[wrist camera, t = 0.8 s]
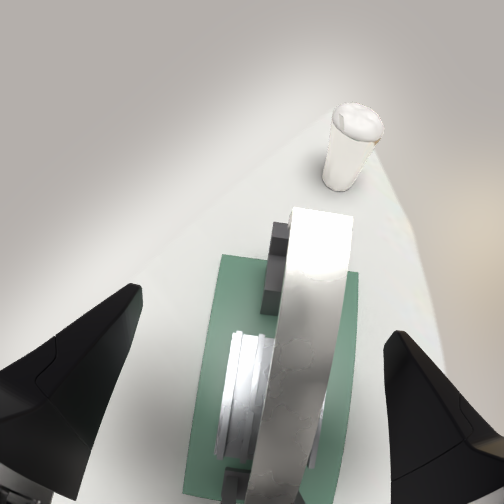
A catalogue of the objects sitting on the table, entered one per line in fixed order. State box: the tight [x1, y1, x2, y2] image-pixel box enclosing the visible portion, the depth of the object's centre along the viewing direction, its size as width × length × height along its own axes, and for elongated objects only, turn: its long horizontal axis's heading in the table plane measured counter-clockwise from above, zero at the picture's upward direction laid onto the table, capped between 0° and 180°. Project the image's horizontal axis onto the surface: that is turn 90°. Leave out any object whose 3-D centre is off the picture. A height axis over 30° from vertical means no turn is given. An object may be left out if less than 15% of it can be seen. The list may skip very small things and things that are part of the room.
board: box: [183, 254, 358, 504], centre depth 21 cm, size 20×12×1 cm, turn 172°
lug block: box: [260, 222, 290, 316], centre depth 20 cm, size 4×4×7 cm
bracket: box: [221, 467, 306, 504], centre depth 14 cm, size 2×5×8 cm, turn 82°
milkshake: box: [322, 102, 385, 191], centre depth 25 cm, size 4×5×10 cm
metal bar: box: [244, 208, 353, 504], centre depth 12 cm, size 17×2×2 cm, turn 173°
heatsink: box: [214, 331, 326, 469], centre depth 19 cm, size 9×7×3 cm
